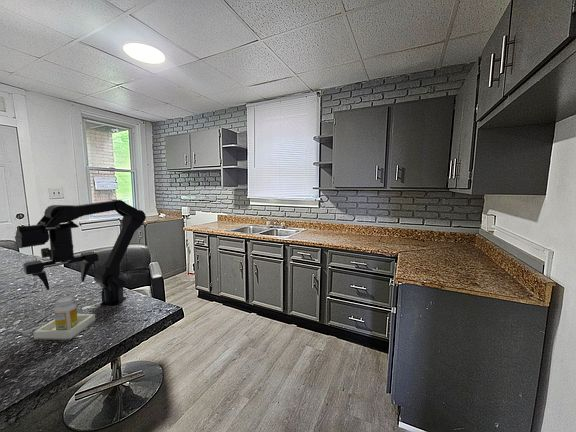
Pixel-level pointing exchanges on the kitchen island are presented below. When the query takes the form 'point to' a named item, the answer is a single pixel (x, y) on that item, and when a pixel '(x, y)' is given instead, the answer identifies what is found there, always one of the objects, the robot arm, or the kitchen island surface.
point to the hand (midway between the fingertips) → (66, 285)
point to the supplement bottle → (65, 314)
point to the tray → (51, 332)
